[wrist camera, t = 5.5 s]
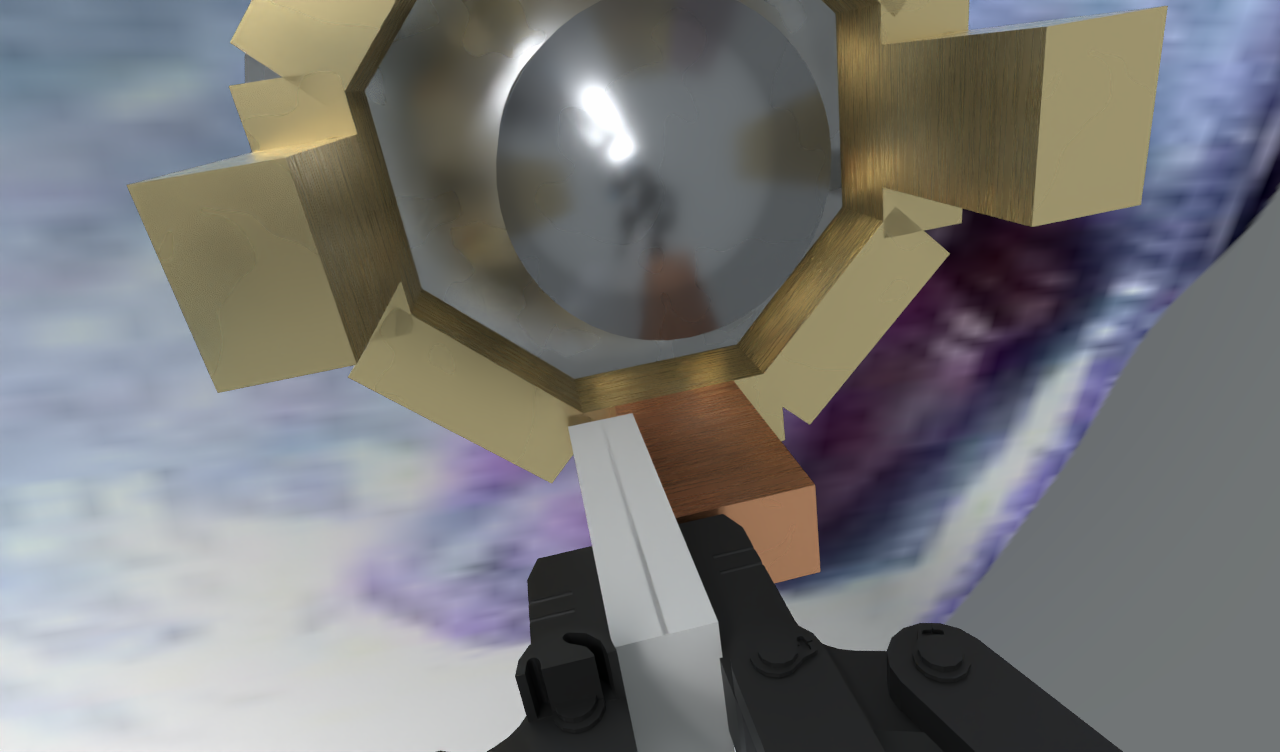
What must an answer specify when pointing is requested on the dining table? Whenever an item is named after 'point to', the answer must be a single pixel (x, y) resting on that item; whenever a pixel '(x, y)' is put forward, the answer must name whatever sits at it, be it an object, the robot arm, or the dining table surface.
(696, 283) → the silver round piece
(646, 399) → the gold crown
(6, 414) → the dining table surface
